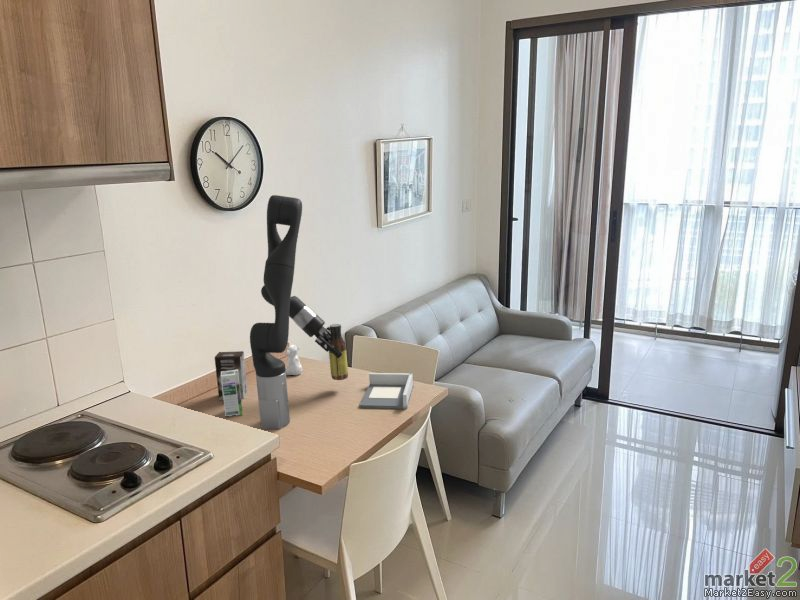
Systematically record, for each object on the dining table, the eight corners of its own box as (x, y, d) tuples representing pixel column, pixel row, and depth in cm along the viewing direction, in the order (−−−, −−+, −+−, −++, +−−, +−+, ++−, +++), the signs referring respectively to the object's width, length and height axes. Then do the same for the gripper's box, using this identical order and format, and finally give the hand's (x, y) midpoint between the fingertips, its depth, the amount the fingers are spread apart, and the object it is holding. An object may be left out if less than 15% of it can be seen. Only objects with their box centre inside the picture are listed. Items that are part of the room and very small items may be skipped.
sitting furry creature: (296, 367, 241) (293, 339, 239) (310, 372, 236) (307, 343, 233) (277, 374, 235) (274, 345, 232) (291, 379, 229) (288, 349, 226)
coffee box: (218, 400, 211) (213, 357, 207) (223, 393, 217) (218, 351, 213) (244, 399, 211) (239, 356, 207) (248, 392, 217) (243, 350, 214)
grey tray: (406, 408, 198) (406, 394, 197) (359, 407, 200) (359, 394, 199) (413, 386, 217) (412, 373, 216) (370, 385, 219) (369, 372, 218)
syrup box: (224, 417, 196) (220, 376, 193) (225, 410, 202) (220, 370, 198) (242, 415, 198) (238, 374, 194) (242, 408, 203) (238, 368, 200)
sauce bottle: (349, 375, 218) (347, 322, 214) (346, 381, 212) (344, 327, 208) (332, 375, 219) (329, 322, 214) (328, 380, 213) (325, 327, 208)
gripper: (310, 318, 204) (345, 352, 205) (320, 309, 218) (353, 340, 219) (296, 333, 206) (331, 366, 207) (307, 323, 220) (340, 354, 221)
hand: (342, 353), depth 213 cm, fingers closed on sauce bottle, 6 cm apart
